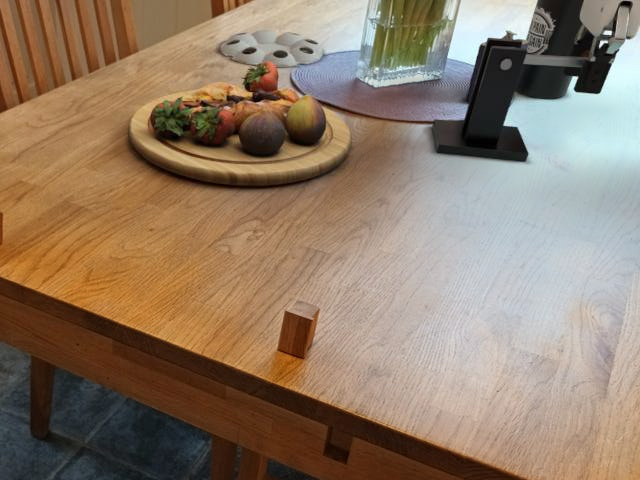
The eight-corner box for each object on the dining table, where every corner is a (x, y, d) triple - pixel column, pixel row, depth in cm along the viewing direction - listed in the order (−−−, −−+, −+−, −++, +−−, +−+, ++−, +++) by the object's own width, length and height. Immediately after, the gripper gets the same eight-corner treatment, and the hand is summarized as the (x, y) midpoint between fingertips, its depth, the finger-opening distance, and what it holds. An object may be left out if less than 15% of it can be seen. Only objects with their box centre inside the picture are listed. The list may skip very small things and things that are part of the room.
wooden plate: (205, 88, 121) (207, 36, 116) (384, 132, 107) (396, 76, 102) (82, 149, 101) (79, 89, 96) (284, 213, 87) (293, 148, 82)
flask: (504, 93, 122) (526, 25, 115) (517, 99, 119) (539, 30, 113) (460, 99, 119) (479, 31, 112) (472, 105, 117) (493, 36, 110)
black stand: (515, 134, 107) (547, 37, 99) (525, 161, 100) (562, 58, 91) (432, 126, 109) (457, 30, 101) (436, 152, 102) (464, 51, 93)
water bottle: (496, 81, 126) (542, -70, 112) (551, 79, 127) (604, -70, 113) (525, 101, 119) (579, -58, 104) (583, 99, 120) (644, -58, 105)
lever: (588, 65, 98) (595, 47, 96) (599, 79, 93) (606, 60, 92) (486, 59, 100) (491, 41, 99) (492, 73, 96) (497, 54, 94)
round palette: (199, 51, 137) (200, 40, 136) (258, 31, 149) (259, 20, 148) (285, 74, 128) (287, 62, 126) (341, 50, 139) (343, 39, 138)
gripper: (699, -55, 78) (627, 109, 90) (652, -79, 91) (595, 67, 103) (625, -59, 80) (563, 103, 91) (589, -83, 93) (539, 62, 104)
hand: (580, 82), depth 97 cm, fingers closed on lever, 6 cm apart
